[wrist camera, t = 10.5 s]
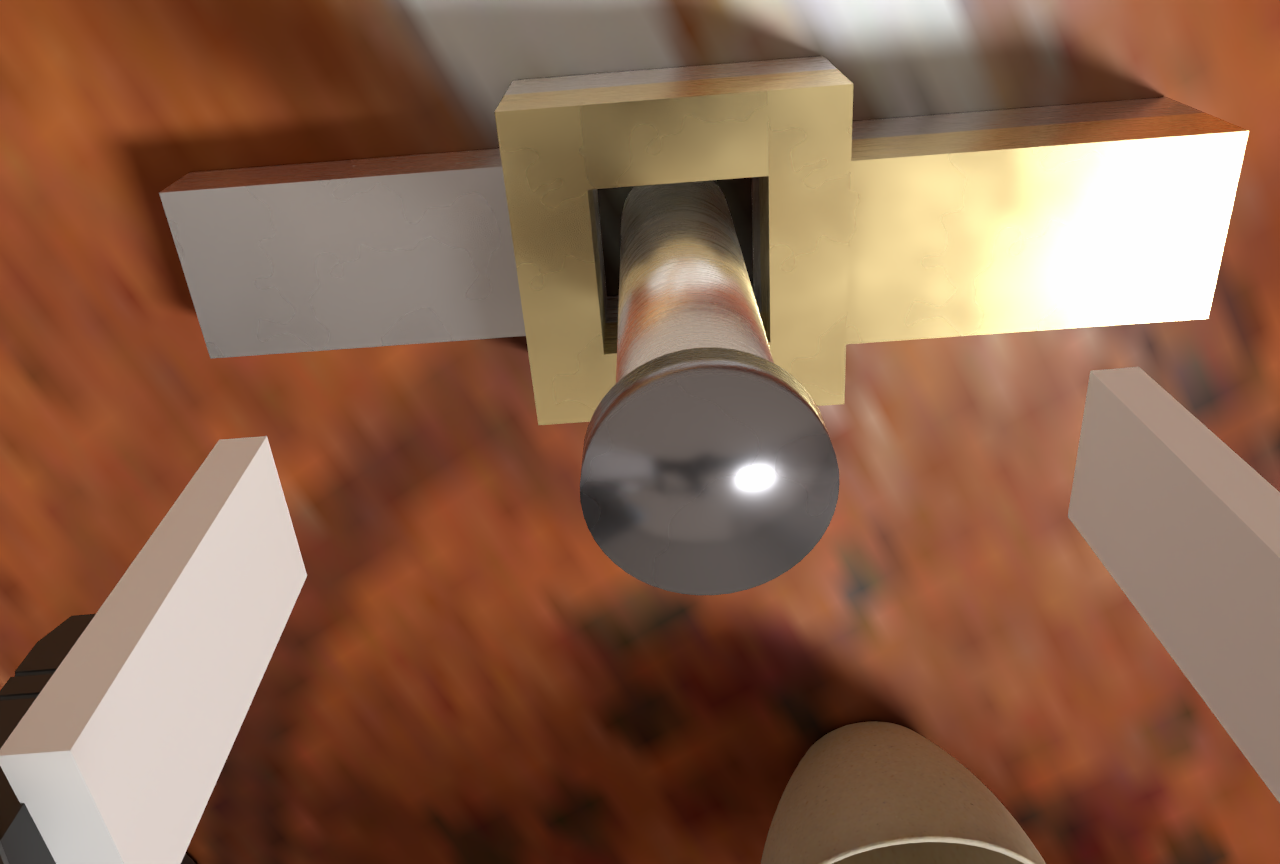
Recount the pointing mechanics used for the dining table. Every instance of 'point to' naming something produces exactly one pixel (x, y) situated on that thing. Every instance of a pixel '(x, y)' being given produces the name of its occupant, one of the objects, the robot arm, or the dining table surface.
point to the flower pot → (890, 806)
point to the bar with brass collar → (781, 223)
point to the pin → (700, 413)
